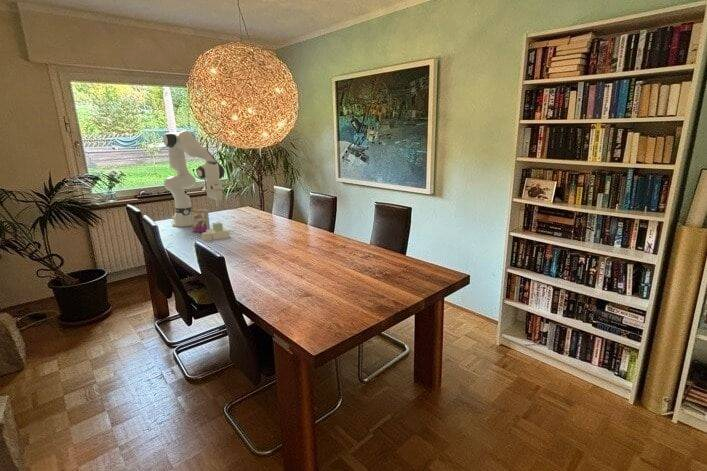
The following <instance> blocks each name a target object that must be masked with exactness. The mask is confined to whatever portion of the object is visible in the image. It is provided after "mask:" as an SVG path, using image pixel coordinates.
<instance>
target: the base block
mask: <svg viewBox="0 0 707 471" xmlns="http://www.w3.org/2000/svg"><path fill="white" fill-rule="evenodd" d="M206 232H210V233H212V240H211V241H215V240H221V239H225V238H226V239H227V238H230V237H231V234H230V233H231V232H230V230H229V229H227V228H225V227H223V230H222V231H214V230H213V228H210V229H208V230H206Z"/></svg>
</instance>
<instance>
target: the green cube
mask: <svg viewBox="0 0 707 471" xmlns="http://www.w3.org/2000/svg"><path fill="white" fill-rule="evenodd" d="M212 227H213V228H212V229H213V230H214V231H222V230H223V228H224V227H223V223H222V222H220V221H218V222H213V223H212Z"/></svg>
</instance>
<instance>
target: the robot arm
mask: <svg viewBox="0 0 707 471" xmlns="http://www.w3.org/2000/svg"><path fill="white" fill-rule="evenodd" d="M162 138H163V143H164V145H165V147H167V148H168V159H169V160H168V161H169V166H170V168H171V169H172V170H173V171H175V173H176V175H171V176H168V177H166V178H164V181H163V185H164V188H165V189H166V190H167V191H169V192H170V193H171V195H172V197H173V199H174V205H175V208H174V212H175V213H174V215H173V216H171V219H172V221H171V224H172V225H171V226H172V227H179V228H180V227H182V228H183V227H184V228H185V227H192V218H191V210H193V207H192V203H191V197H190V195H188V194H186V192H185V190H187V189H191V188H193V187H195V186H196V184H197V180H196V178H195V176H194V175H193V174H191V173H190V171H189V170H188V166H187V161H186V155H188V156H190V157H193V158H199V159H201V160H204V161H205V162H204V164H202V165H199V166H198V167H197V168H196V175H197V178H199V179H200V180H205V181H206V182H205V184H206V196H207V198H209V200H210V204H211V205H215V207H217V208H219V207H220V202H221V201H223V199H224V198H223V197H224V196H223V189H224V188H223V185H222V183H221V179H222V178H223V177H224V176H225V173H226V170H225V168H224V166H222V165H221V164H220V163H219V162H218V161H217V159H216V158H215V157H214V156H213V155H212V153H211V152H210V151H209V150H208V149H207V148H205V147H204V146H202V145H201V144H200V143H199V141H198V140H197V139H196V136H195V135H194V134H193V133H192V132H191V131H189V130H182V131H177V132H176V131H175V132H166V133H164V135H163V137H162ZM215 202H216V203H215Z"/></svg>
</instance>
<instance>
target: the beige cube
mask: <svg viewBox="0 0 707 471" xmlns="http://www.w3.org/2000/svg"><path fill="white" fill-rule="evenodd" d="M201 238H202V241H203V242H209V241H213V240H212V233H210V232H201Z"/></svg>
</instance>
